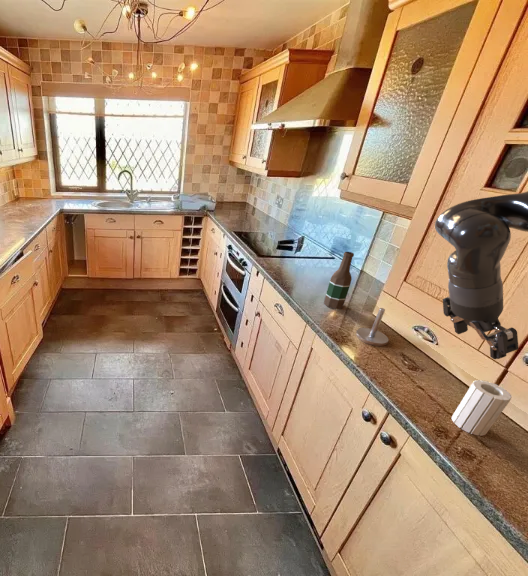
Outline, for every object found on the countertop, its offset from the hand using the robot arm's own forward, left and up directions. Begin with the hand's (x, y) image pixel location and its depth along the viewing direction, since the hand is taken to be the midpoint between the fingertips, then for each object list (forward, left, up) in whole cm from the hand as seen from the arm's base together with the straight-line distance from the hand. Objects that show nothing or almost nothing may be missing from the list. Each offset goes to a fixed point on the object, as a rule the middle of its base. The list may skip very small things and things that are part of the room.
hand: (478, 343), depth 70 cm
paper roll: (-7, 0, -23) cm, 24 cm away
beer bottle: (+18, -56, -24) cm, 64 cm away
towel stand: (+8, -34, -24) cm, 42 cm away
